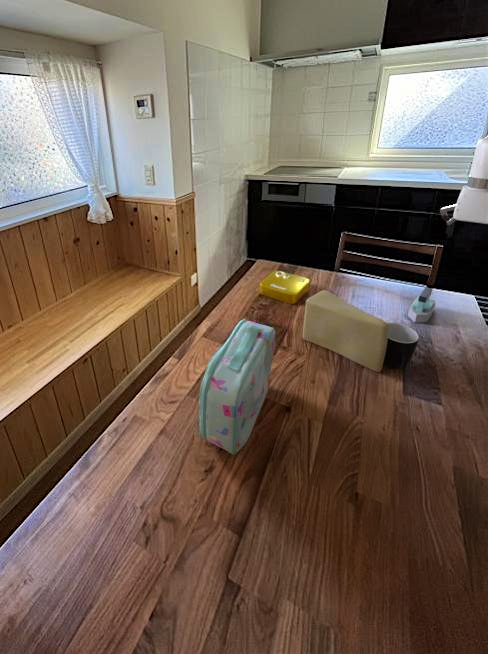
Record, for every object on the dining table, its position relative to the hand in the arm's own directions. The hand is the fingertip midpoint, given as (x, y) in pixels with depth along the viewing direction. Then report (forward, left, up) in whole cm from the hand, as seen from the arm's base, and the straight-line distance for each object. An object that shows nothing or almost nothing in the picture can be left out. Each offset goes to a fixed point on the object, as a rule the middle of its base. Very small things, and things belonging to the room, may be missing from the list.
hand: (468, 239), depth 102 cm
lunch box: (+69, +46, -27) cm, 87 cm away
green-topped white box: (+9, +2, -27) cm, 28 cm away
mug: (+27, +27, -27) cm, 47 cm away
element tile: (+52, -12, -27) cm, 59 cm away
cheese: (+39, +22, -27) cm, 52 cm away
